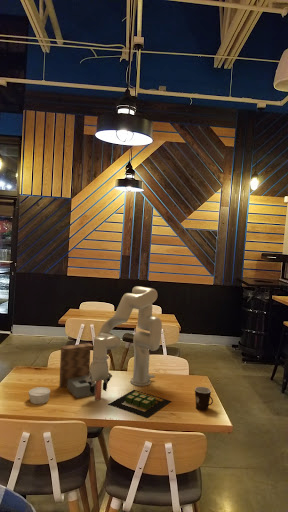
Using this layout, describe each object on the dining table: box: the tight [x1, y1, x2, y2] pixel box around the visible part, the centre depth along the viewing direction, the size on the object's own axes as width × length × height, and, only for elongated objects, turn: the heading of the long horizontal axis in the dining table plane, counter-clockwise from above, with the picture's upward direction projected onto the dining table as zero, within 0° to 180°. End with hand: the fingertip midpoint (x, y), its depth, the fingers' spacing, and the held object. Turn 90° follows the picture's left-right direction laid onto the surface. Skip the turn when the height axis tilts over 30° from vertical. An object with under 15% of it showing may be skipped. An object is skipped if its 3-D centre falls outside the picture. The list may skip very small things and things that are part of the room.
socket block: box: [66, 376, 96, 399], centre depth 216 cm, size 12×14×6 cm
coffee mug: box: [194, 386, 214, 412], centre depth 200 cm, size 12×9×10 cm
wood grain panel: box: [58, 342, 94, 389], centre depth 223 cm, size 18×6×24 cm, turn 123°
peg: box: [94, 380, 103, 401], centre depth 207 cm, size 3×3×12 cm
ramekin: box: [28, 386, 51, 405], centre depth 201 cm, size 11×11×5 cm
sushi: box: [107, 389, 172, 419], centre depth 204 cm, size 25×25×4 cm
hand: (98, 391), depth 207 cm, fingers open, 6 cm apart
